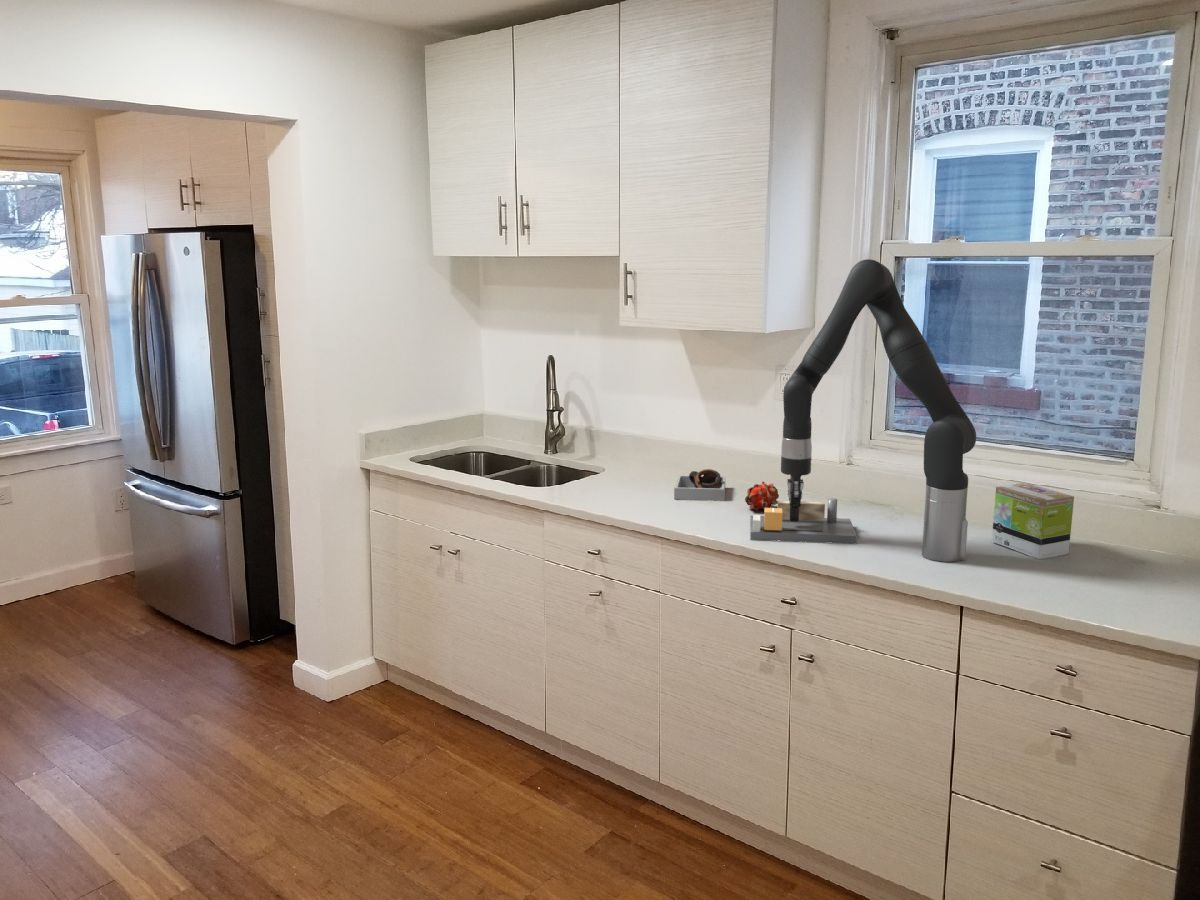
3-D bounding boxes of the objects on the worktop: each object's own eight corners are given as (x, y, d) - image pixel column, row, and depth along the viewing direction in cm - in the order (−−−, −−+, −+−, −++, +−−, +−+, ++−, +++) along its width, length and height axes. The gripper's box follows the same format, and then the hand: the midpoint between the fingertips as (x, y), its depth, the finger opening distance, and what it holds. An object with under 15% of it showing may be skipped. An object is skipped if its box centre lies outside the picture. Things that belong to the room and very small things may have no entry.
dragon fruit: (779, 511, 271) (749, 524, 265) (761, 490, 276) (731, 502, 269) (791, 492, 265) (760, 505, 259) (772, 471, 270) (741, 483, 263)
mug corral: (725, 487, 294) (725, 476, 293) (723, 500, 278) (724, 489, 277) (678, 486, 296) (678, 475, 295) (674, 499, 280) (674, 488, 279)
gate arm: (823, 518, 249) (824, 502, 248) (824, 520, 247) (824, 504, 246) (777, 516, 251) (777, 500, 250) (777, 519, 249) (778, 503, 248)
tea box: (989, 543, 235) (994, 485, 232) (1020, 538, 239) (1024, 481, 236) (1039, 560, 221) (1044, 499, 218) (1070, 555, 225) (1076, 494, 222)
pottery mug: (729, 492, 290) (729, 473, 285) (712, 511, 285) (711, 491, 280) (696, 477, 296) (695, 458, 291) (679, 495, 291) (678, 476, 286)
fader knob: (781, 525, 243) (781, 507, 242) (781, 530, 238) (782, 512, 237) (764, 525, 243) (764, 507, 242) (764, 529, 239) (764, 511, 238)
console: (849, 526, 251) (850, 496, 249) (856, 543, 235) (857, 512, 234) (750, 522, 255) (751, 493, 253) (750, 539, 239) (751, 509, 238)
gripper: (813, 460, 233) (810, 528, 236) (809, 450, 246) (807, 514, 249) (782, 459, 234) (780, 527, 237) (780, 449, 247) (778, 513, 250)
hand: (794, 520), depth 243 cm, fingers closed
